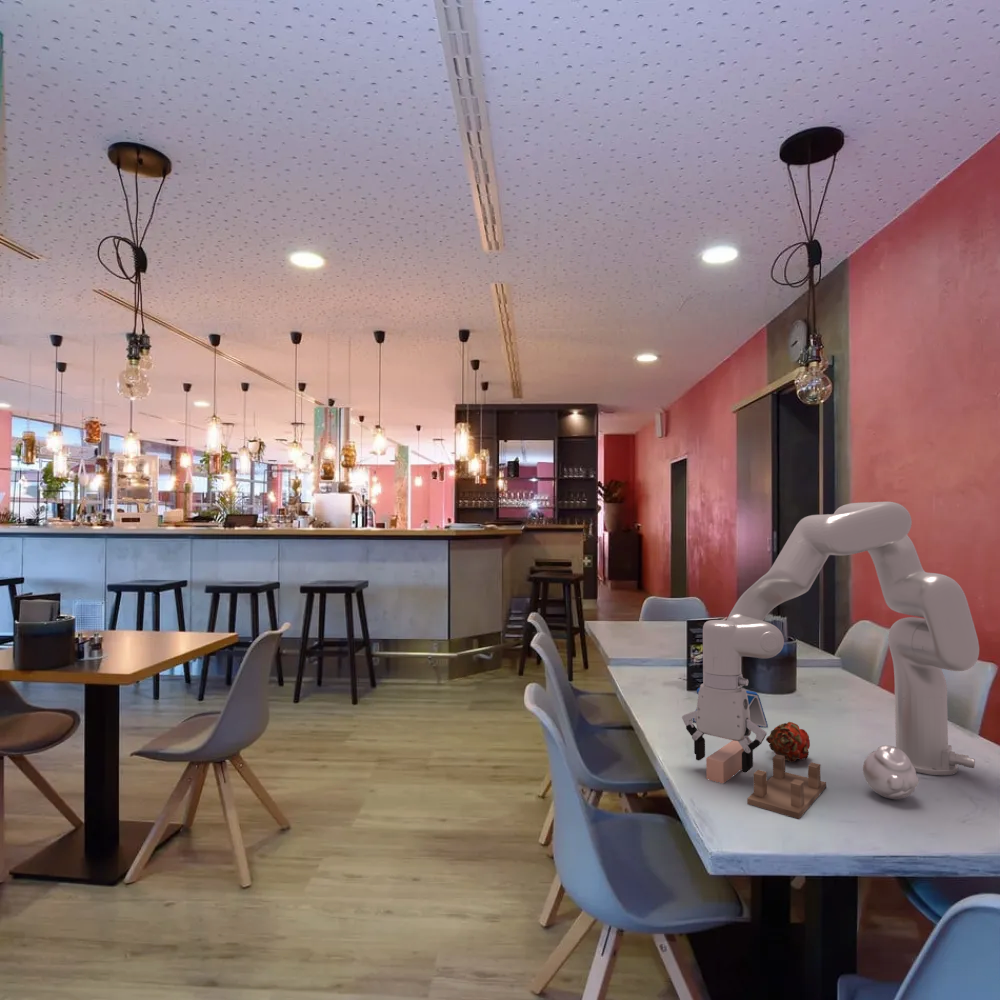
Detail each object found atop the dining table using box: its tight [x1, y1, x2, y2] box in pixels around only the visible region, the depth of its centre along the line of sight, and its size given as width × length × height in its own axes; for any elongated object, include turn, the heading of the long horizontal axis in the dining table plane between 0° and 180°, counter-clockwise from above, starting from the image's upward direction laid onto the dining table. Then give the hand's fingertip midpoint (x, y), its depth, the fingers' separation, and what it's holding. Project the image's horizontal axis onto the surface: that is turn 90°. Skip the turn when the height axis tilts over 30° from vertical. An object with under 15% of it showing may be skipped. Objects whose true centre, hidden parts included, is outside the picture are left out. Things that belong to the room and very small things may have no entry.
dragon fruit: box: [765, 721, 811, 763], centre depth 139 cm, size 8×8×12 cm
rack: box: [746, 753, 827, 820], centre depth 120 cm, size 18×9×5 cm, turn 139°
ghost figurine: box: [862, 744, 920, 800], centre depth 119 cm, size 9×10×10 cm
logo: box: [692, 687, 769, 728], centre depth 164 cm, size 18×2×10 cm, turn 79°
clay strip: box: [705, 740, 744, 784], centre depth 132 cm, size 16×4×4 cm, turn 139°
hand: (722, 764), depth 129 cm, fingers open, 9 cm apart
